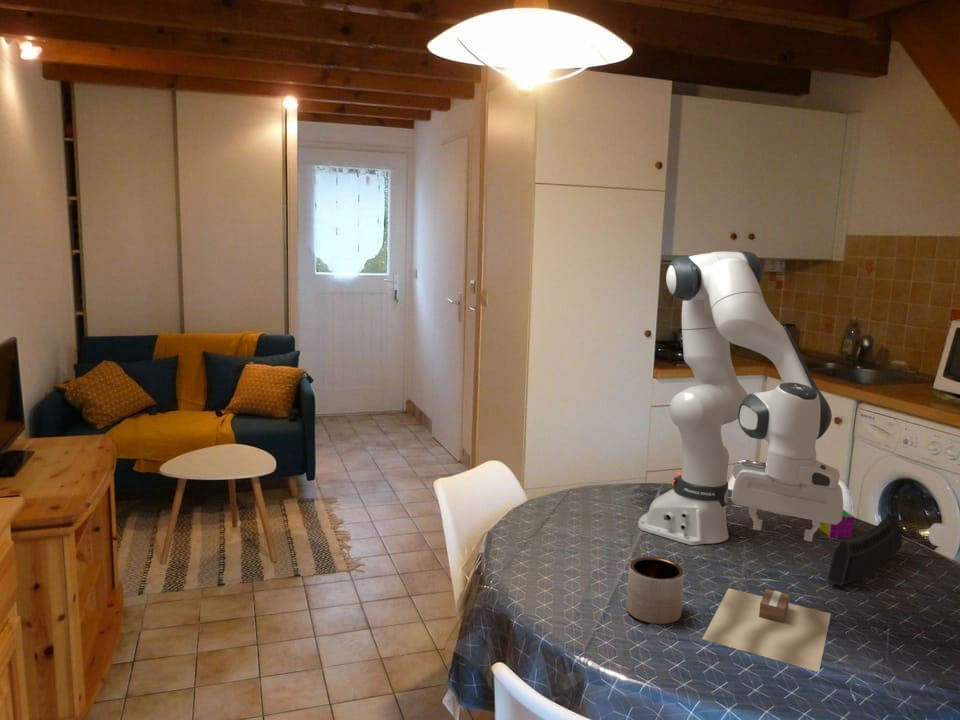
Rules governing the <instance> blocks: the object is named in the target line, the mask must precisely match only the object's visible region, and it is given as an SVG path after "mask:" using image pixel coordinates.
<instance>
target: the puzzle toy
mask: <svg viewBox="0 0 960 720" xmlns="http://www.w3.org/2000/svg"><path fill="white" fill-rule="evenodd" d="M853 524H854V516H853V515H852V514H850V513H849V512H847V511H846V510H845V509H843V515H842V520H841V522H840V523H838V524H837V525H834V524H829V523H824V522H821V525H820V527H819V529H820V530H819V529H818V530H819V531H821V530H822V531H823V532H824V533H826V534H827V535H828V536H829V537H828V536H827V535H826V534H825V535H826V536H827V537H828V538H833V537H836V536H837V537H851V538H852V533H853ZM822 531H821V532H822ZM823 532H822V533H823ZM824 533H823V534H824ZM837 537H836V538H837Z"/></svg>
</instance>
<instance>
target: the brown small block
mask: <svg viewBox="0 0 960 720" xmlns="http://www.w3.org/2000/svg"><path fill="white" fill-rule="evenodd" d="M762 597H763V598H762V600H761V603H760V612H759V617H761V618H765V619H769V620H773V621H776V622H780V623H783V622H784V619H785V616H786V613H787V610H788V605H789V603H790V594H788V593H784V592H781V591H777V590H771V589H768V588H766V589H765V591H764V593H763V596H762Z"/></svg>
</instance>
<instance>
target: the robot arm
mask: <svg viewBox="0 0 960 720" xmlns="http://www.w3.org/2000/svg"><path fill="white" fill-rule="evenodd" d="M665 276H666V277H665V279H666V286H667V290H668V293H669V294H670V296H671V297H672V298H673V299H675V300H677V301H682V305H681V336H682V349H683V350H682V351H683V360H684V362H685V364H686V365H687V366H689V368H690V369H691V371H692V373H693V376H694V379H695V383H696V385H693V386H689V387H687V388H684V389H683V390H681V391H680V392H678V393H677V394H675V395H674V396H673V398H672V399H671V401H670V403H669V411H668V412H669V416H670V419H671V421H672V423H673V424H674V425H675V426H676V427H677V428H678V432H679V434H680V437H681V442H682V443H681V444H682V461H681V462H682V465H681V471H680V472H677V473H676V474H675V476H674V478H673V480H672V483H671V487H672V489H670V490H668V491H666V492H665V493H663V494H661V495H659V496H657V497H656V498H655V499H653V501H652V502H651V504H650V506H649V507H648V508H649V509H648V512H646V513H644V514H643V515H641V517H640V518H639V519H638V523H637V526H638V528H639V530H641V531H644V532H646V533H650V534H653V535H657V536H660V537H664V538H666V539H670V540H673V541H676V542H680V543H683V544H685V545H686V544H687V545H689V546H698V545H704V544H705V545H707V544H718V543H722V542H726V541H727V540H728V539H729V537H730V535H729V530H728V525H727V510H726V505H727V503H728V499H729V498H728V497H729V482H728V470H729V459H730V453H729V451H728V449H727V448H726V446H725V445H724V443H723V442H724V441H723V438H722V426H723V425H727V424H730V423H733V422H735V421H736V420H737V419H738V424H739V427H740V429H741V430H742V431H743V433H745V434H746V436H748V437H749V438H752V439H757V440H765V441H767V443H768V445H767V449H766V457H765V458H766V459H765V462H762V461H753V460H749V459H742V460H739V461H737V462H735V463H734V465H733V471H732V477H733V478H734V479H735V480H734V484H733V485H732V486H733V487H732V492H731V498H730V499H731V501H732V502H733V504H734V505H736V506H739V507H741V506H742V507H746V508H748V514H749V516H750V518H751V520H752V522H753V526H752V530H756V531H762V529H763V522H764V521H763V519H759V516H758V514H757V512H758V510H760V511H765V512H771V513H776V514H779V515H784V516H789V517H795V518H800V519H806V520H810V521H811V522H812V523H811V525H812V527H811V528H810V529H808V528H806V529H805V530H804V537H803V541H807V542H811V543H812V542H813V539H814V534H815V533H816V532H817V531H818V530H819V529H818V528H819V527H820V525H821V522H824V523H829V524H834V525H837V524H838V523H840V522H841V520H842V515H843V510H844V496H843V488H842V487H841V485H840V484H839V482H840V479H841V478H840V477H841V476H840V471H839V470H838V469H837V468H835V467H832V466H830V465H828V464H826V463H823V462H822V461H819V460H817V450H816V443H817V440H819V439H820V438H822V436H823V435H824V434H825V433H826V432H827V431H828V430H829V427H831V424H832V418H833V415H832V409H831V407H830V404H829V403H828V401H827V399H826V398H825V397H824V395H823V394H822V392H821V391H820V389H819V388H818V386H817V384H816V382H815V380H814V379H813V377H812V374H811V373H810V371H809V369H808V366H807V365H806V362H805V361H804V358H803V356H802V354H801V352H800V350H799V348H798V345H797V344H796V342H795V340H794V338H793V336H792V334H791V333H790V331H789V330H788V328H786V327H785V326H784V325H783V324H782V323H780V322H779V321H778V320H777V319H776V317H775V316H774V314H772V312H771V311H770V309H769V308H768V306H767V304H766V301H765V298H764V294H763V292H762V289H761V287H760V286H761V284H762V281H763V265H762V263H761V260H760V258H759V257H758V256H757V255H756V253H754V252H750V251H744V250H739V251H712V252H707V253H699V254H695V255H689V256H688V255H683V256H678V257H676V258H674V259H672V260H671V261H670V263H669V265H668V266H667V269H666V275H665ZM730 343H731V344H733V345H736V346H739V347H742V348H744V349H745V348H746V349H749V350H751V351H754V352H756V353H759V354H761V355H762V356H764V357H766V358H767V359H768V360H769V361H771V362H772V363H773V365H774V366H775V368H776V370H777V372H778V375H779V377H780V379H781V381H782V383H780V384H778V385H776V387H775V388H774V389H771V390H768V391H762V392H754V393H747V391H746V389H745V388H744V387H743V386H742V385H741V384H740V382H739V380H738V376H737V375H736V372H735V368H734V365H733V363H732V356H731V347H730V346H731V345H730Z"/></svg>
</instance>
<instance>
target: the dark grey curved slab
mask: <svg viewBox="0 0 960 720" xmlns="http://www.w3.org/2000/svg"><path fill="white" fill-rule="evenodd" d="M902 536H903V535H902V529H901V526H900V523H899V522H898V520H897V516H896V514H892V513H887V515H886V517H885V518H884V519H882V521H881V522H879V523H878V524H877V525H876V526H874V528H872V529H870V530H869V531H868V532H865V533H864V534H862V535H859V536H857V537H855V538H852V539H848V540H846V539H840V540H839V543H838V545H837V546H836V547H835V548H834V549H833V550H834V551H833V555H832V559H831V563H830V568H829V571H828V575H827V582H830V583H831V584H834V585H836V586H841V587H842V586H844V585H846V584H849V583H853V582H856V581H858V580H860V579H861V580H862V579H863V578H866V577H867V576H868V575H870V574H872V573H874V572H875V571H877V570H878V569H879V568H881V567H882V566H884V564H886V562H888V561H889V560H890V559H891V558H892V557H893V556H894V555H895V554H896V553H897V552H898V551H899V550H900V549H901V548H902V545H903V544H902V542H903V541H902V538H903V537H902Z"/></svg>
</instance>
